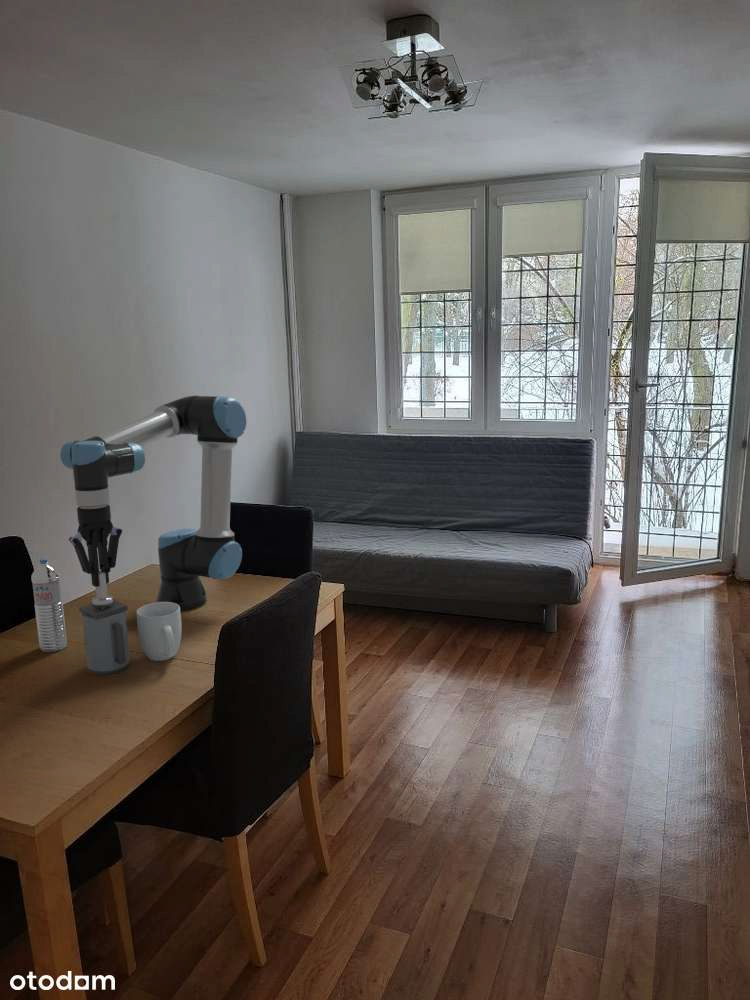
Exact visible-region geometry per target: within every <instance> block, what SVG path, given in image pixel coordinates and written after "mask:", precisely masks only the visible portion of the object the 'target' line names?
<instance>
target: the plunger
mask: <svg viewBox="0 0 750 1000" xmlns="http://www.w3.org/2000/svg"><path fill="white" fill-rule="evenodd" d="M107 597H108V598H105V599H100V598H98V597H96V596H94V597H92V598H91V603H92V606H93V607H96V608H101V609H104V608H105V607H108V606H111V605H112V604H113V603H114V602H113V599H114V596H113V595H111V594H107Z"/></svg>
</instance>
